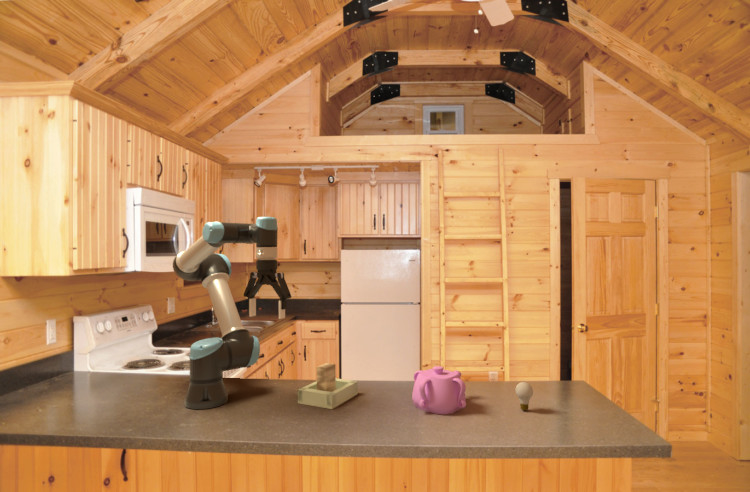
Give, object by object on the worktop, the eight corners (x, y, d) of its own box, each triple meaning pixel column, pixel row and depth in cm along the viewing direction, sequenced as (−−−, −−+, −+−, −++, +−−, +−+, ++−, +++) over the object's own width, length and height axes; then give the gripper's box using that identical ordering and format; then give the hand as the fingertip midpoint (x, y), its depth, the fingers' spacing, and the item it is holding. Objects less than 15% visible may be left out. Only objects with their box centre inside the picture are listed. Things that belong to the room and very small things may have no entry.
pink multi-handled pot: (413, 415, 153) (412, 373, 153) (411, 395, 173) (411, 359, 174) (469, 416, 152) (468, 374, 152) (461, 396, 172) (460, 359, 173)
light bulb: (533, 408, 158) (532, 380, 158) (533, 414, 152) (533, 385, 153) (515, 407, 160) (515, 379, 160) (515, 412, 154) (515, 383, 154)
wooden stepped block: (316, 398, 167) (316, 367, 167) (331, 391, 176) (330, 361, 176) (325, 400, 165) (325, 368, 166) (339, 392, 174) (339, 362, 175)
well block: (297, 403, 166) (297, 389, 166) (325, 388, 183) (325, 376, 183) (331, 409, 159) (331, 395, 159) (357, 393, 176) (357, 381, 176)
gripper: (233, 259, 165) (233, 316, 164) (288, 259, 153) (288, 320, 153) (247, 258, 171) (248, 313, 171) (300, 259, 160) (301, 317, 160)
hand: (267, 317), depth 162 cm, fingers open, 13 cm apart
